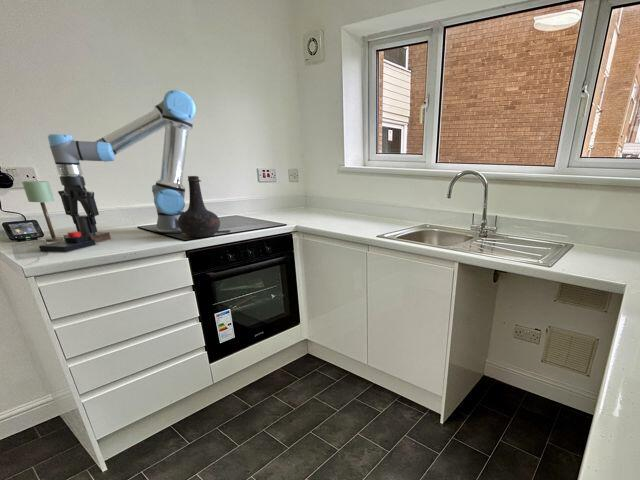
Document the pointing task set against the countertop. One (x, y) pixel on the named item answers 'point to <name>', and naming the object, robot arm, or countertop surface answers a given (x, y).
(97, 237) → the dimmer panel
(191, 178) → the glass bottle
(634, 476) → the countertop surface
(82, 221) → the dark grey tall block
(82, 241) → the lamp base
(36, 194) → the lamp
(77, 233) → the power button
